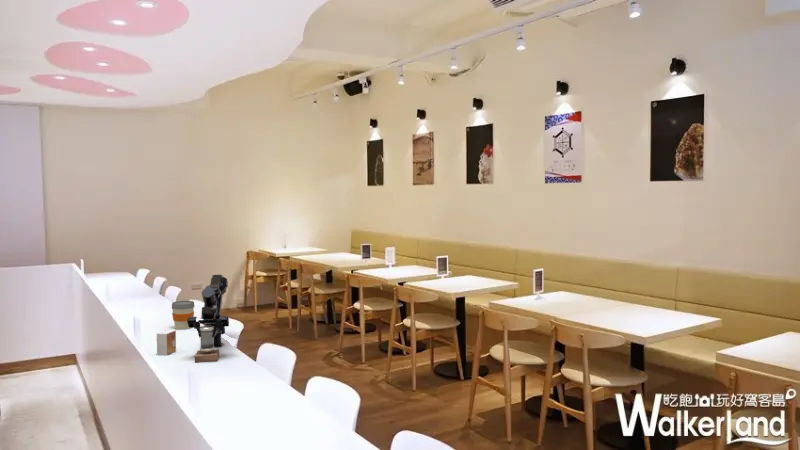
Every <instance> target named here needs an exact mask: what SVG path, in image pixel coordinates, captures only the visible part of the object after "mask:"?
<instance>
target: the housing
mask: <svg viewBox="0 0 800 450" xmlns="http://www.w3.org/2000/svg"><path fill="white" fill-rule="evenodd" d="M213 333H214V326H211V325H207V326H206V325H202V326H201V325H200V338H199V339H200V347H199V350H200V351H202V352H209V351H213V350H216V347H214V337H213Z"/></svg>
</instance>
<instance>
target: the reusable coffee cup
mask: <svg viewBox="0 0 800 450" xmlns="http://www.w3.org/2000/svg"><path fill="white" fill-rule="evenodd" d="M171 309H172V312H171V315H172V319H173V322H174V328H175V330H176V331H177V330H178V331H181V330H182V331H184V330H190V329H191V328H190V327H189V326H188V323H187V319H188V318H189V317H195V316H194V315H195V311H194V309H195V301H193V300H179V301H177V300H176V301H174V302H172V303H171Z"/></svg>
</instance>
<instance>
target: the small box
mask: <svg viewBox="0 0 800 450" xmlns="http://www.w3.org/2000/svg"><path fill="white" fill-rule="evenodd" d="M176 332H177V330H176V329H175V330H172V329H166V330H163V331H160V332H157V333H156V355H157V354H160V355H162V356H168V355H170V354H172V353H175V352H177V336H176V335H177V333H176Z"/></svg>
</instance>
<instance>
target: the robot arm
mask: <svg viewBox="0 0 800 450" xmlns="http://www.w3.org/2000/svg"><path fill="white" fill-rule="evenodd" d="M228 287H229V281H228V279H227V277H225V276H223V275H222V274H213V275H212V276H211V279H210V284H209V285H207V286H205V287H204V289H202V291H201V298H202V300H203V303H204V305H203V307H201V319H200V318H198V317H197V316H194V317H189V318H188V319H187V323H188V326H189V327H190V329H192V328H194V329H196V331H197V335H198V338H199V339H200V327H201V325H202V324H204V325H205V326H207V325H211V326H214V333H213V337H214V347H215V348H216V347H217V348H218V347H219V348H220V347H222V346H223V342H222V335H224V334H226V327H229V326H230V319H229V316H228V315H221V312H222V304H223V297H224V296H223V295H224V294H226V292H227V288H228Z"/></svg>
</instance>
